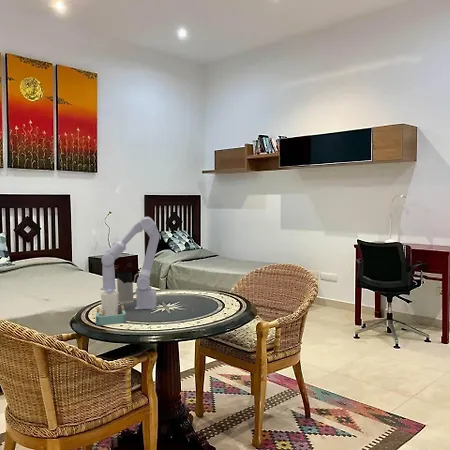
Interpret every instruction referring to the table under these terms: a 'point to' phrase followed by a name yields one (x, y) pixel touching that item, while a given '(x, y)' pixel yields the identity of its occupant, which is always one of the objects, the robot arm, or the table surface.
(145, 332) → the table surface
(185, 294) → the table surface
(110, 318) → the tray
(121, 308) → the holster cradle
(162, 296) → the table surface
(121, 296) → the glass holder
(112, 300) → the white cup
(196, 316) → the table surface
